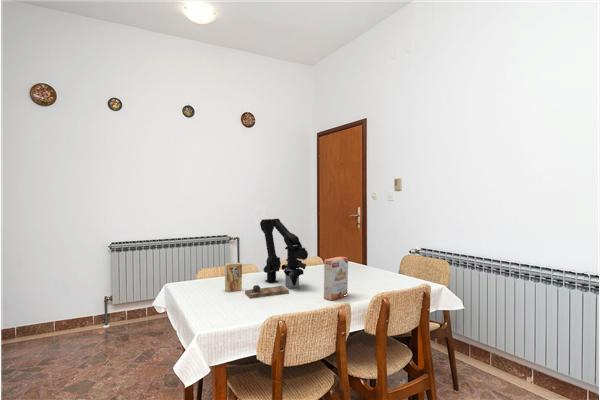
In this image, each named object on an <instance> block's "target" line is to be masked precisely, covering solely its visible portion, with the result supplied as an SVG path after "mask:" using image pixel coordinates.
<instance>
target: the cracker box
mask: <svg viewBox="0 0 600 400" xmlns="http://www.w3.org/2000/svg"><path fill="white" fill-rule="evenodd" d="M323 262H324V264H323V265H324V268H323V270H324V271H323V299H325V300H327V301H328V300H329V301H335V300H338V299H340V298H339V297H341V298H343V297H342V296H344V295H346V294H347V295H348V290H349V289H348V286H349V285H348V281H349V279H348V278H349V257H348V256H347V257H346V256H336V257H331V258H326V259H324V261H323ZM344 297H345V296H344ZM337 298H338V299H337Z"/></svg>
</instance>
